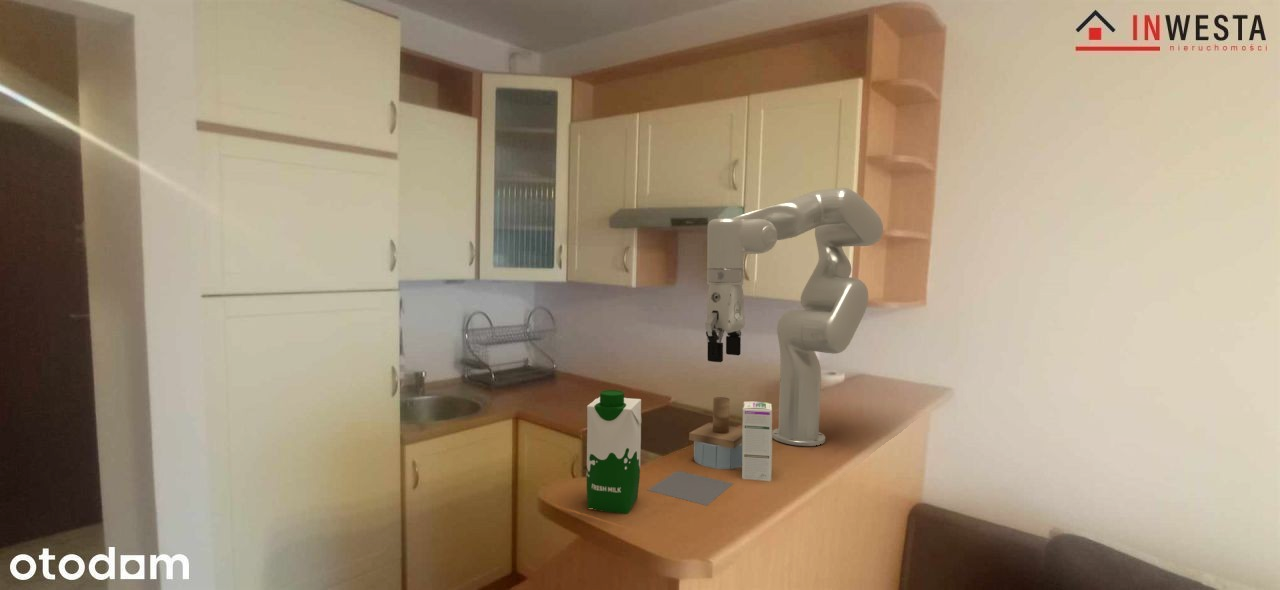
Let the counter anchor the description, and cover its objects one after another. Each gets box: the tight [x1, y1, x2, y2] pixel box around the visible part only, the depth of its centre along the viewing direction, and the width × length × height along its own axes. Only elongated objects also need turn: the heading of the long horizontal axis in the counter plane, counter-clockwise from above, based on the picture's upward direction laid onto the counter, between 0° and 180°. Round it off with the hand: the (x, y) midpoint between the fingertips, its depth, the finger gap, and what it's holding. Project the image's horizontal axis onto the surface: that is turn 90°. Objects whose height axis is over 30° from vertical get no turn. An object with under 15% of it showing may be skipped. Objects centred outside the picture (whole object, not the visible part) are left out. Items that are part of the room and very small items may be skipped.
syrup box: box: [741, 400, 773, 482], centre depth 110 cm, size 6×6×14 cm
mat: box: [647, 470, 734, 507], centre depth 104 cm, size 12×12×1 cm
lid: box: [688, 396, 742, 449], centre depth 119 cm, size 10×10×8 cm
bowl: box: [693, 441, 742, 470], centre depth 119 cm, size 11×11×5 cm
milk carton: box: [586, 389, 642, 515], centre depth 96 cm, size 9×9×20 cm
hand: (724, 358), depth 118 cm, fingers open, 9 cm apart
